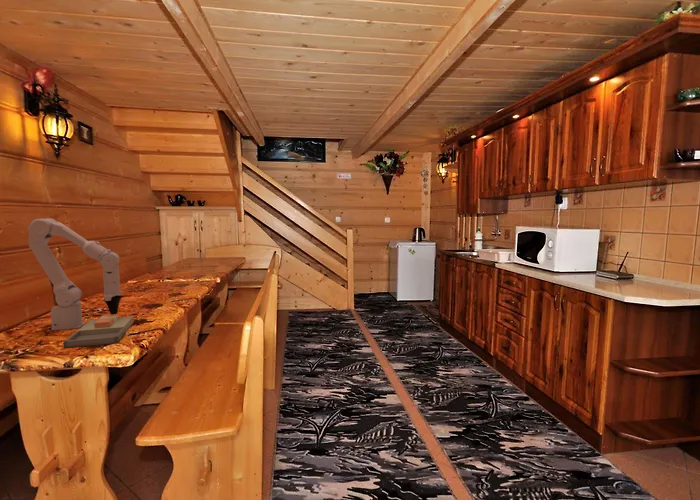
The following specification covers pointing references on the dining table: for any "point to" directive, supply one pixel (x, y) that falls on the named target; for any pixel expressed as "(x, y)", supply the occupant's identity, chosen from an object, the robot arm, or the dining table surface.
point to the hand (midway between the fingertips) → (114, 314)
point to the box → (93, 339)
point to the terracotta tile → (103, 323)
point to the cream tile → (109, 317)
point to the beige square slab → (114, 328)
